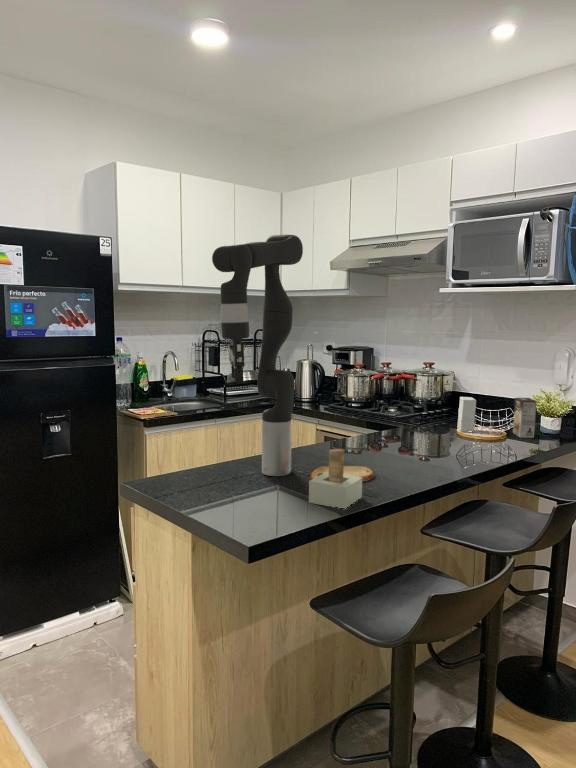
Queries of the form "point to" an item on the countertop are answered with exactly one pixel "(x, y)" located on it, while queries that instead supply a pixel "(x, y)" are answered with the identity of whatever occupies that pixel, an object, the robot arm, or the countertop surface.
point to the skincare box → (466, 414)
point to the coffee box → (524, 417)
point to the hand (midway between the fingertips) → (237, 380)
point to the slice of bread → (347, 472)
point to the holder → (335, 491)
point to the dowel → (336, 465)
